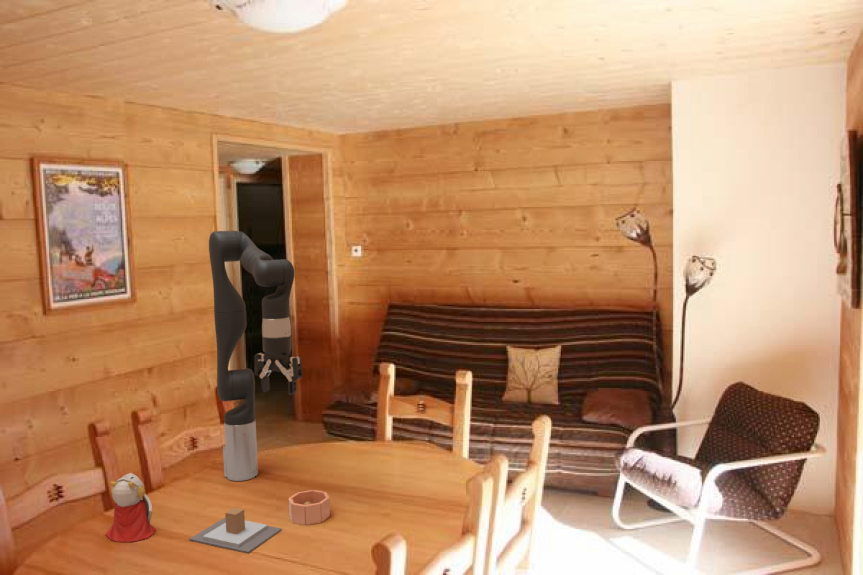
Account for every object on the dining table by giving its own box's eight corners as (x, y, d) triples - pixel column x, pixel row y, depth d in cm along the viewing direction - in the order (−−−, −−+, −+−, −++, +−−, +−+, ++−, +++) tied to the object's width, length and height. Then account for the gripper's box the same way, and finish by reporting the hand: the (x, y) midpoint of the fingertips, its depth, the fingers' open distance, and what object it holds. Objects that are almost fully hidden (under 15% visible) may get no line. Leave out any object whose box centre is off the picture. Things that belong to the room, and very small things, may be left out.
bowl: (282, 520, 176) (281, 502, 175) (304, 505, 185) (303, 488, 185) (315, 527, 172) (314, 508, 171) (336, 511, 181) (335, 493, 181)
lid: (202, 539, 166) (201, 516, 165) (233, 521, 176) (232, 499, 175) (238, 547, 161) (237, 523, 160) (267, 528, 171) (266, 505, 170)
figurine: (169, 526, 174) (166, 470, 173) (134, 546, 164) (130, 486, 162) (132, 518, 179) (129, 463, 178) (95, 537, 169) (91, 479, 168)
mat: (189, 540, 166) (189, 538, 166) (225, 518, 178) (225, 517, 178) (248, 553, 159) (248, 551, 159) (281, 530, 171) (281, 528, 171)
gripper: (246, 334, 181) (248, 393, 183) (290, 338, 175) (292, 399, 177) (264, 330, 188) (266, 387, 190) (306, 333, 182) (308, 392, 184)
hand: (279, 392), depth 183 cm, fingers open, 8 cm apart
